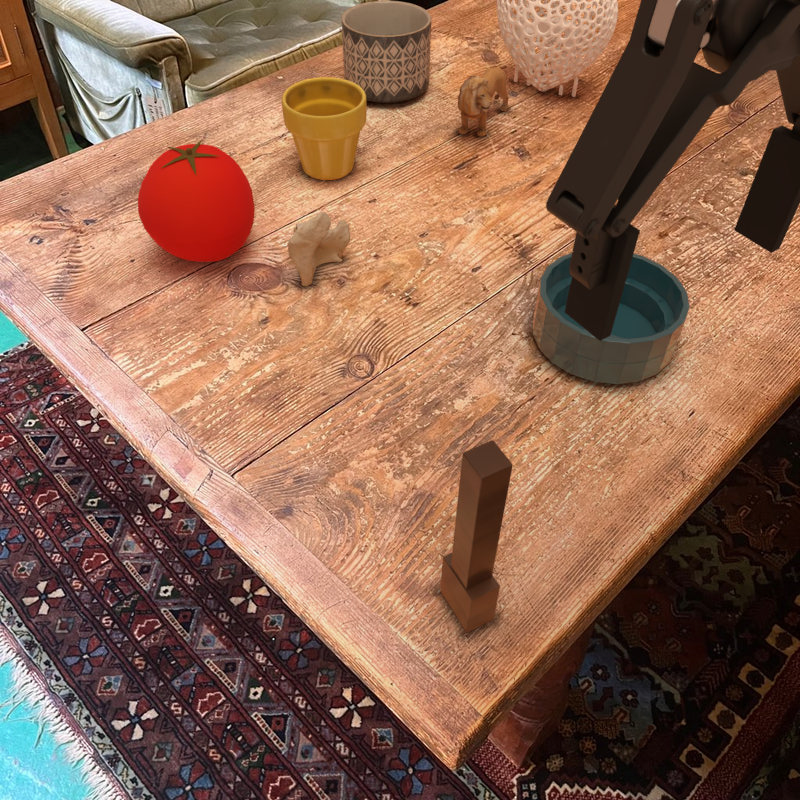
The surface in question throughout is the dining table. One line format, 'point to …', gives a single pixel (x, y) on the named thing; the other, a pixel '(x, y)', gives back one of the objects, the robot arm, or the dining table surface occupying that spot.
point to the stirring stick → (476, 536)
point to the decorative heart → (555, 38)
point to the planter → (387, 49)
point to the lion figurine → (481, 97)
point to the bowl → (632, 331)
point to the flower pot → (325, 124)
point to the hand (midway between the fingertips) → (676, 279)
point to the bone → (317, 244)
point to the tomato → (197, 203)
